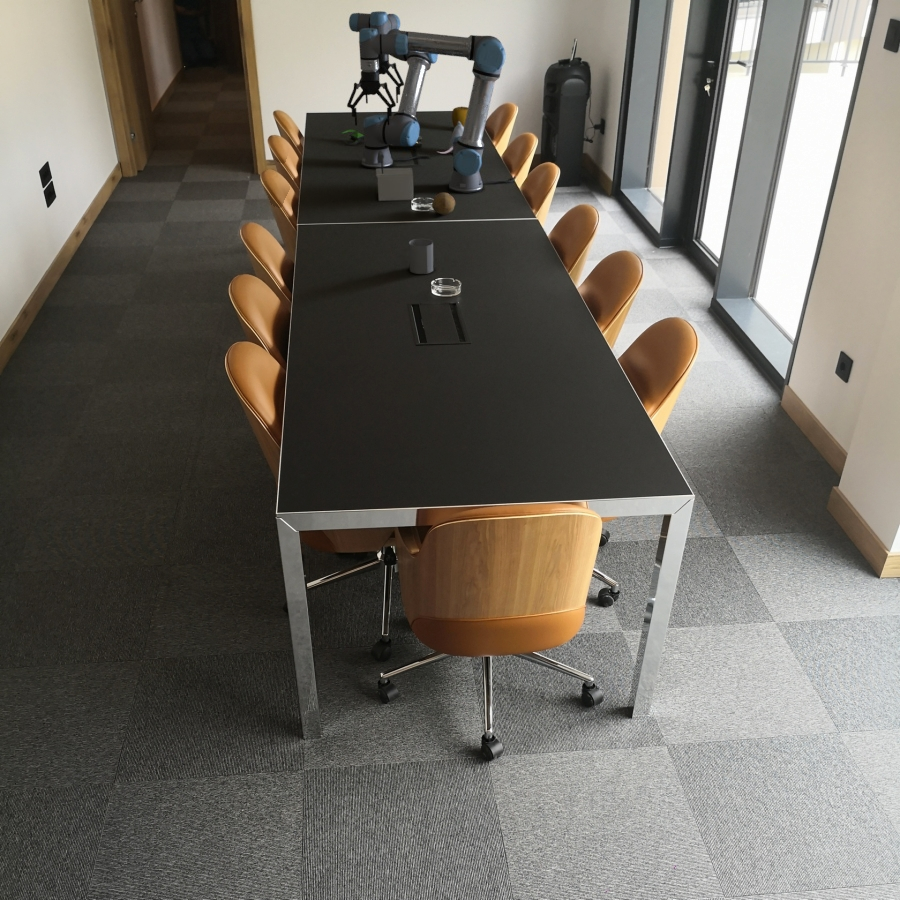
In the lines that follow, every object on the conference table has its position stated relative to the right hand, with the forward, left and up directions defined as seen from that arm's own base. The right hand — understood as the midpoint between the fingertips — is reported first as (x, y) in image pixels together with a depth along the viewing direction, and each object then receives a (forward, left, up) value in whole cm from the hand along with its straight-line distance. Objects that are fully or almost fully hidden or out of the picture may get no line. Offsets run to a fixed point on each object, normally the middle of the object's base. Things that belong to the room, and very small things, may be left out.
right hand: (372, 124), depth 366 cm
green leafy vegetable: (-29, -96, -31) cm, 105 cm away
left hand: (-14, -28, +3) cm, 31 cm away
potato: (-19, +33, -31) cm, 49 cm away
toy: (-61, -54, -31) cm, 87 cm away
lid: (-8, +3, -20) cm, 22 cm away
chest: (-8, +3, -31) cm, 32 cm away
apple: (-87, -103, -31) cm, 138 cm away
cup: (+13, +90, -31) cm, 96 cm away
